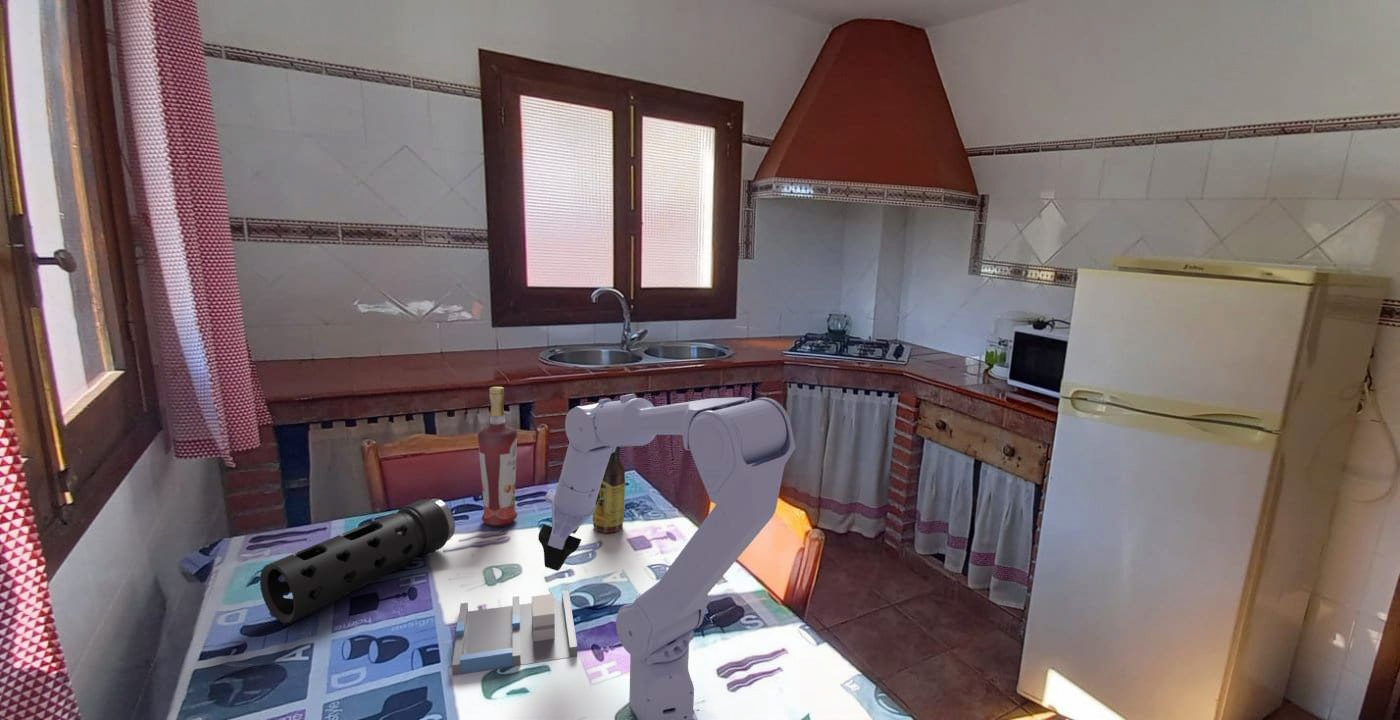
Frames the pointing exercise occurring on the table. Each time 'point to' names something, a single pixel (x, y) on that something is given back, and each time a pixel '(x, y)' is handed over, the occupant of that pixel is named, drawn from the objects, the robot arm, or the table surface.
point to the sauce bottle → (611, 497)
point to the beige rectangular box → (543, 617)
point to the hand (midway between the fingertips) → (560, 548)
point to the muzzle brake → (354, 559)
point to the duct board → (510, 637)
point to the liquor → (498, 464)
